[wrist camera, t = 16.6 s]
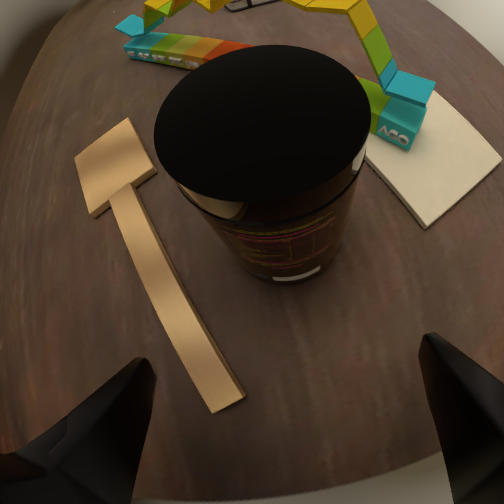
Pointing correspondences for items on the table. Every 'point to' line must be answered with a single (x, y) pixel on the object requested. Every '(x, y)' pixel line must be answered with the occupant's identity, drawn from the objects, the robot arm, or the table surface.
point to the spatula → (153, 257)
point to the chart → (204, 49)
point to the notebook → (245, 4)
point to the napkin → (433, 162)
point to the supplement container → (268, 154)
